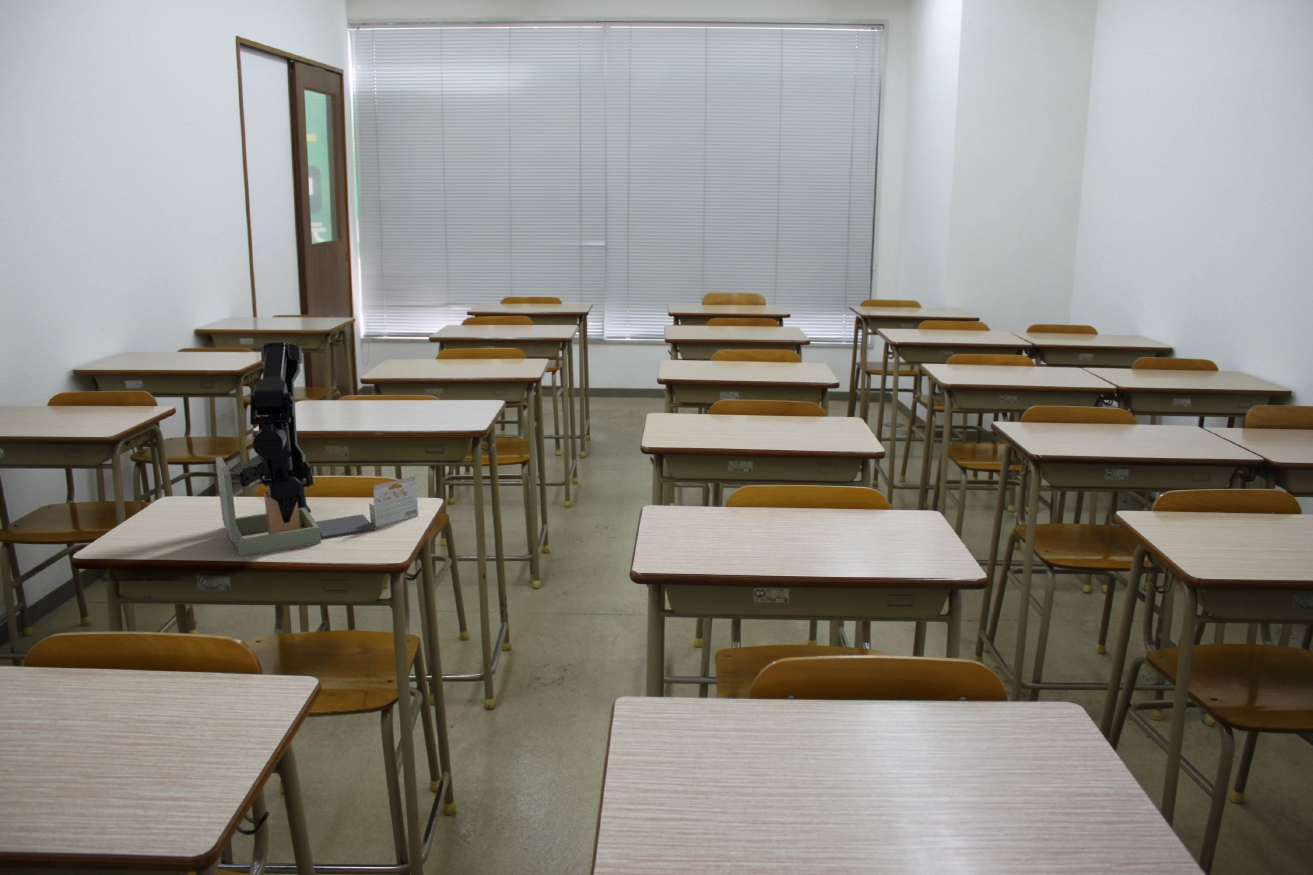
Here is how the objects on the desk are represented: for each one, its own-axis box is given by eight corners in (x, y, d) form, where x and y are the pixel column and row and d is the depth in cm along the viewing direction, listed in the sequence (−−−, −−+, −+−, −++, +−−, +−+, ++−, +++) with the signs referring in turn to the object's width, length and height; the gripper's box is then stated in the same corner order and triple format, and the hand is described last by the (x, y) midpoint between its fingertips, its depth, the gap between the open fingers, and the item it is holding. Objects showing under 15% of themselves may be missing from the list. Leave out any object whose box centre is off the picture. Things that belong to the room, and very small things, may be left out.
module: (268, 536, 208) (263, 490, 206) (297, 532, 211) (293, 486, 209) (271, 542, 205) (266, 495, 202) (300, 537, 208) (296, 491, 205)
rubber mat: (313, 524, 216) (313, 522, 216) (363, 516, 221) (362, 514, 221) (323, 538, 207) (323, 536, 207) (374, 530, 212) (374, 527, 212)
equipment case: (224, 535, 209) (215, 457, 205) (306, 522, 218) (299, 447, 214) (233, 557, 196) (224, 474, 192) (320, 542, 204) (313, 463, 200)
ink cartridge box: (370, 525, 216) (366, 483, 213) (413, 514, 224) (410, 473, 221) (375, 527, 214) (372, 485, 212) (419, 516, 222) (416, 475, 220)
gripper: (229, 442, 207) (236, 511, 211) (240, 461, 192) (248, 535, 195) (283, 435, 213) (290, 503, 216) (299, 454, 197) (305, 526, 201)
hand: (282, 516), depth 207 cm, fingers open, 9 cm apart
